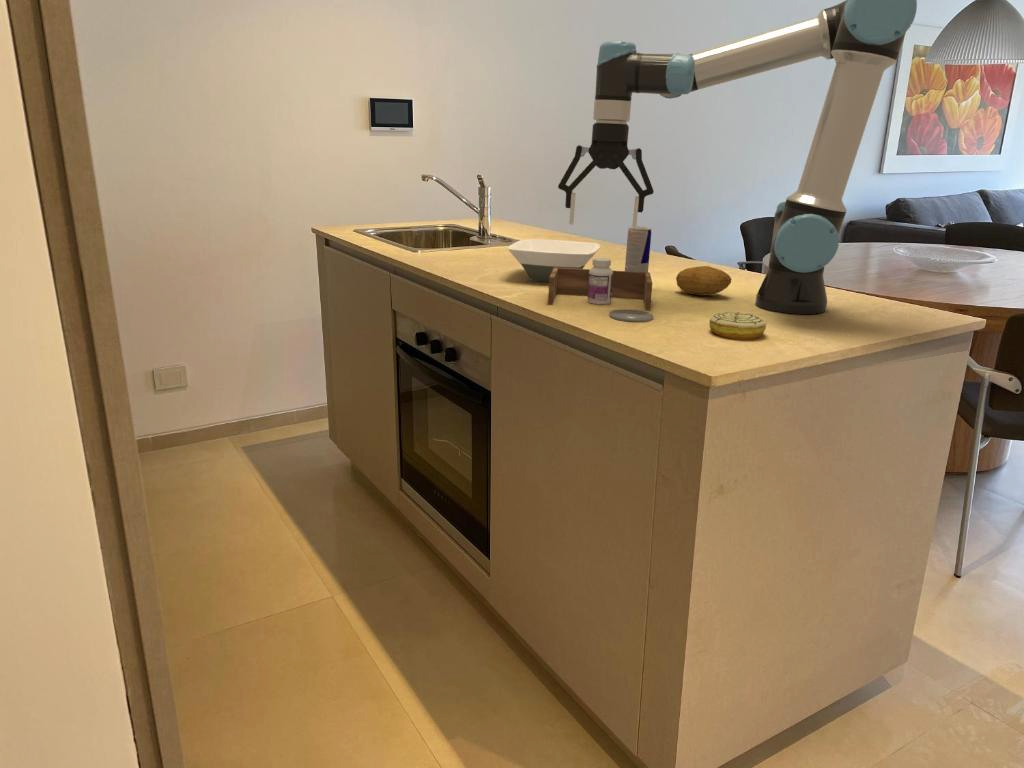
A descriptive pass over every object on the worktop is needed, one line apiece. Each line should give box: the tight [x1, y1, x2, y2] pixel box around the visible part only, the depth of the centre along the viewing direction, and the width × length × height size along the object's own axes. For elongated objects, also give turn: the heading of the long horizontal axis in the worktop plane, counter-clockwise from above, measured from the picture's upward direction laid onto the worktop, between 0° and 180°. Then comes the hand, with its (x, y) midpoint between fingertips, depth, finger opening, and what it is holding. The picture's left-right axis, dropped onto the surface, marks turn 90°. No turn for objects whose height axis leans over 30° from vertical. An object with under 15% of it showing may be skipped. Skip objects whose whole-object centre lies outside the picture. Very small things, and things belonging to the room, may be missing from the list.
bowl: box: [507, 238, 602, 283], centre depth 197 cm, size 22×23×8 cm
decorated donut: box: [708, 311, 768, 340], centre depth 148 cm, size 10×11×4 cm
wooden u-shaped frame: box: [547, 267, 653, 312], centre depth 172 cm, size 14×22×6 cm, turn 83°
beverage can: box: [624, 225, 652, 272], centre depth 186 cm, size 6×6×15 cm
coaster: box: [609, 308, 654, 323], centre depth 159 cm, size 9×9×1 cm
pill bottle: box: [587, 257, 614, 305], centre depth 171 cm, size 5×5×10 cm
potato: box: [675, 265, 732, 296], centre depth 183 cm, size 9×13×7 cm
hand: (602, 226), depth 167 cm, fingers open, 13 cm apart
